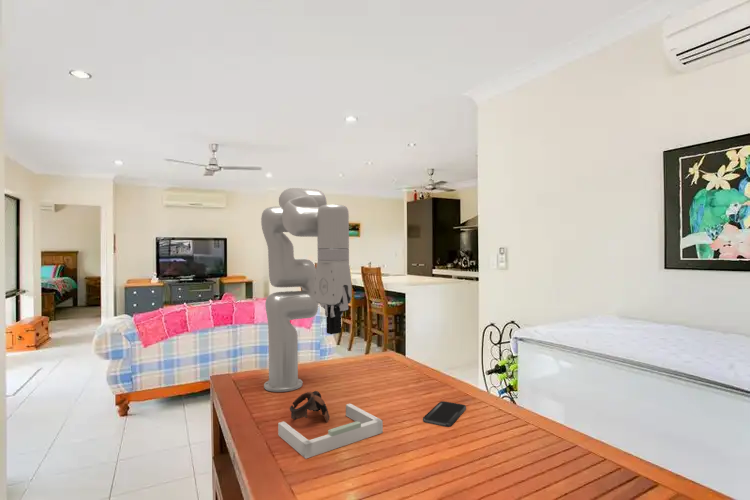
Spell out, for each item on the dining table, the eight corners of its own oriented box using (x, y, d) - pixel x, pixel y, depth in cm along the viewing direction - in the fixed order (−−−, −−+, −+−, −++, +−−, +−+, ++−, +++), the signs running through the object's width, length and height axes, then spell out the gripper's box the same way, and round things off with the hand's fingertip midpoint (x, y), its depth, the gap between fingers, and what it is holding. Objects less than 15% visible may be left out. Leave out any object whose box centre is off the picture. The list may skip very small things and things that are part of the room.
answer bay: (278, 435, 100) (278, 418, 100) (350, 414, 112) (350, 399, 112) (305, 458, 88) (305, 440, 88) (382, 432, 101) (382, 416, 101)
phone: (421, 419, 107) (441, 400, 120) (421, 423, 107) (441, 404, 120) (450, 424, 103) (467, 405, 116) (450, 429, 103) (467, 409, 116)
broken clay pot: (329, 429, 104) (313, 403, 103) (298, 443, 106) (281, 418, 104) (336, 400, 116) (321, 377, 114) (307, 413, 117) (293, 391, 116)
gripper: (304, 256, 102) (304, 330, 101) (337, 256, 90) (337, 340, 90) (330, 256, 106) (330, 327, 106) (364, 256, 95) (365, 335, 94)
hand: (334, 332), depth 98 cm, fingers closed
